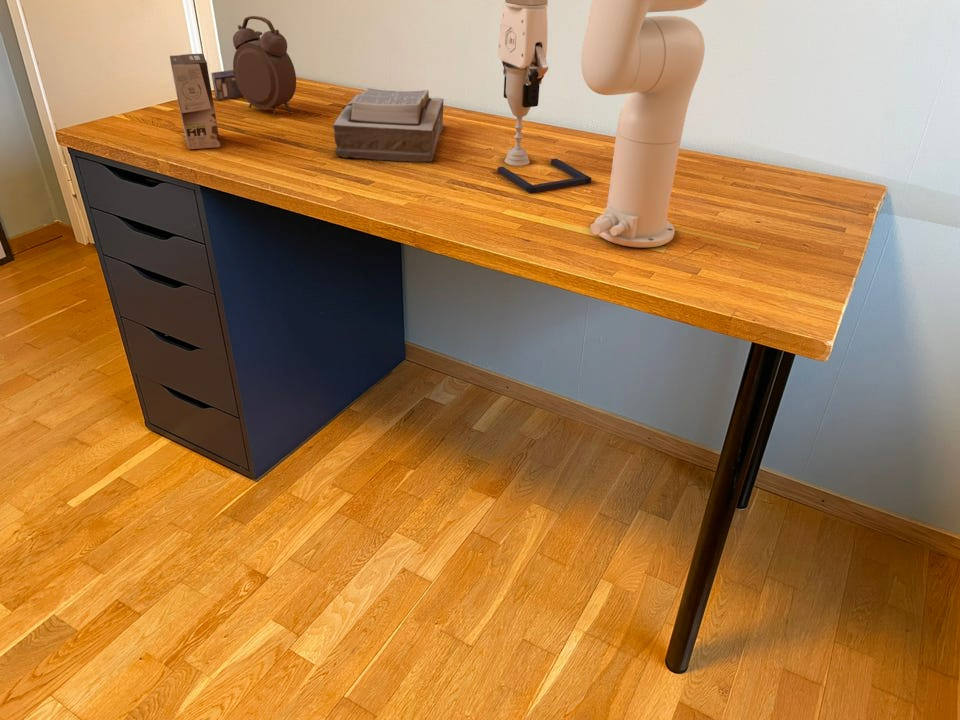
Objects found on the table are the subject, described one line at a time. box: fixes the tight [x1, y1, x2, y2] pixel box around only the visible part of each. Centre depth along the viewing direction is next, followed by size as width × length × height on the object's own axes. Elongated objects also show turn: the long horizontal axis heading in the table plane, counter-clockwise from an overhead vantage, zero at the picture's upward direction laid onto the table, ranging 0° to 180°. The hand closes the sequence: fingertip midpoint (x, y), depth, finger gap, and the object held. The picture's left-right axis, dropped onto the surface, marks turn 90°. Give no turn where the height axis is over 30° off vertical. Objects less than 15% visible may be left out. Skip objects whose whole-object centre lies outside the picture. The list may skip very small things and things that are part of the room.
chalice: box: [503, 63, 536, 167], centre depth 140 cm, size 7×7×18 cm
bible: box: [332, 87, 445, 163], centre depth 150 cm, size 23×27×10 cm
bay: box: [497, 158, 592, 194], centre depth 137 cm, size 12×13×1 cm
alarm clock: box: [232, 15, 297, 115], centre depth 164 cm, size 15×7×20 cm, turn 58°
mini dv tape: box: [211, 69, 244, 101], centre depth 177 cm, size 8×2×6 cm, turn 130°
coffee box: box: [169, 53, 221, 150], centre depth 145 cm, size 9×6×16 cm
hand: (520, 101), depth 138 cm, fingers closed on chalice, 6 cm apart
